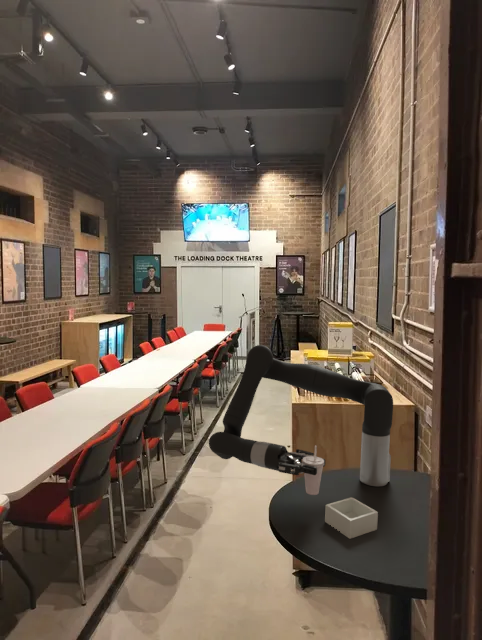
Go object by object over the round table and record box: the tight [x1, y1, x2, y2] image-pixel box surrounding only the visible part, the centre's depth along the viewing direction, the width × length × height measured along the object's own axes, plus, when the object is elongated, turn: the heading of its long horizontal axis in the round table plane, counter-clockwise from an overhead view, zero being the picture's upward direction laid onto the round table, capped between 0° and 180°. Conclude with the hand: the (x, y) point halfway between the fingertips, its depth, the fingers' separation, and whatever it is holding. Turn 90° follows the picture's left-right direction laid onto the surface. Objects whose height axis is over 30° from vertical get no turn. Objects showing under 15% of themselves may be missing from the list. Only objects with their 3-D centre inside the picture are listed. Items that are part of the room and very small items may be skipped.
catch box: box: [324, 497, 379, 539], centre depth 132 cm, size 10×10×5 cm
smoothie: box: [302, 445, 325, 496], centre depth 137 cm, size 6×6×14 cm
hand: (320, 467), depth 136 cm, fingers closed on smoothie, 6 cm apart
